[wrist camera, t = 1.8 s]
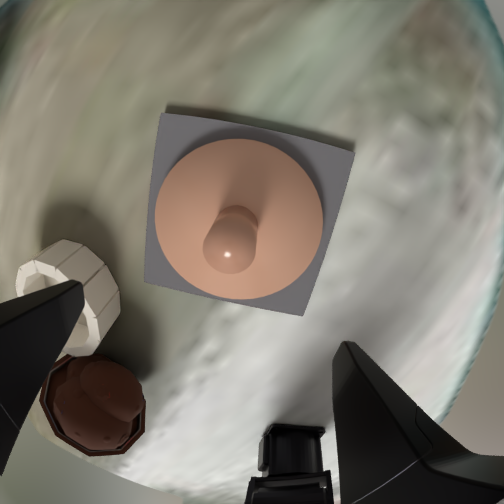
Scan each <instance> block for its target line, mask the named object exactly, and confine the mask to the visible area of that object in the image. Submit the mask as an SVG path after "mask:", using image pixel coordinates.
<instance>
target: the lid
mask: <svg viewBox="0 0 504 504" xmlns="http://www.w3.org/2000/svg"><path fill="white" fill-rule="evenodd" d="M155 227H156V233H157V237H158V241H159V243H160V246H161V249H162V251H163V253H164V255H165V256H166V258H167V260H168V261H169V263H170V264H171V265H172V267H173V268H174V269H175V270H176V271H177V272H178V273H179V275H181V276H182V277H183V278H184V279H185V280H186V281H188V282H189V283H191V284H192V285H194V286H195V287H197V288H199V289H201V290H202V291H204V292H207V293H210V294H212V295H215V296H219V297H223V298H229V299H254V298H259V297H264V296H267V295H270V294H273V293H275V292H277V291H279V290H282V289H283V288H285V287H286V286H288V285H290V284H291V283H292V282H294V281H295V280H296V279H297V278H298V277H299V276H300V275H301V274H302V273H303V272H304V271H305V270H306V269H307V267H308V266H309V265H310V263H311V262H312V260H313V258H314V256H315V254H316V252H317V249H318V247H319V244H320V240H321V236H322V228H323V213H322V207H321V202H320V199H319V196H318V193H317V190H316V188H315V186H314V185H313V183H312V181H311V179H310V178H309V176H308V175H307V173H306V172H305V171H304V170H303V169H302V167H301V166H300V165H299V164H298V163H297V162H296V161H295V160H294V159H292V158H291V157H290V156H289V155H287V154H286V153H284V152H283V151H281V150H279V149H278V148H276V147H274V146H271V145H269V144H266V143H263V142H260V141H256V140H250V139H226V140H220V141H216V142H212V143H209V144H206V145H204V146H201V147H199V148H197V149H195V150H194V151H192V152H190V153H189V154H187V155H186V156H185V157H183V158H182V159H181V160H180V161H179V162H178V163H177V164H176V165H175V166H174V167H173V168H172V170H171V171H170V172H169V174H168V175H167V177H166V178H165V180H164V182H163V184H162V186H161V188H160V191H159V194H158V197H157V201H156V207H155Z"/></svg>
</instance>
